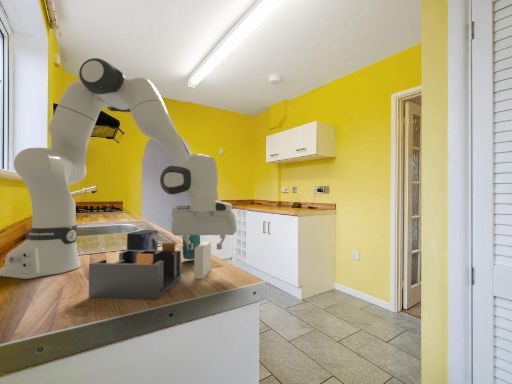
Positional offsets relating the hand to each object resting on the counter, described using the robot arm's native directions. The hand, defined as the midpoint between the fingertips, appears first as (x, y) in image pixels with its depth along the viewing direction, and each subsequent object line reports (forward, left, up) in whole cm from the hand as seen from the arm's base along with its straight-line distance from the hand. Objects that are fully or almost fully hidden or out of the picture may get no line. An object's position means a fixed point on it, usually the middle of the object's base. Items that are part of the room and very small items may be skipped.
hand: (204, 249), depth 77 cm
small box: (-28, +16, -8) cm, 33 cm away
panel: (0, 0, -8) cm, 8 cm away
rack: (-14, -12, -7) cm, 20 cm away
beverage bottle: (-8, +13, -8) cm, 17 cm away
